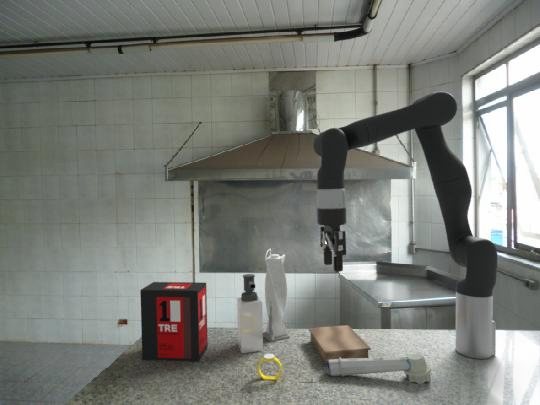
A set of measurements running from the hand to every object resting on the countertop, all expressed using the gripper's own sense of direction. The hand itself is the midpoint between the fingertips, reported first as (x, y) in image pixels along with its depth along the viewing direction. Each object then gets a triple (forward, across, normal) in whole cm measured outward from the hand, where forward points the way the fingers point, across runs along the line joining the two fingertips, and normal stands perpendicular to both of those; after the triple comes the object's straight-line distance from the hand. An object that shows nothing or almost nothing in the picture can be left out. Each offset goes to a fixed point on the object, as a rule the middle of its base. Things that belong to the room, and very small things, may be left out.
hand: (332, 267), depth 96 cm
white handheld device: (+28, -6, -9) cm, 30 cm away
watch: (+27, -3, +18) cm, 32 cm away
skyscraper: (+27, +24, +12) cm, 38 cm away
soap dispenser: (+27, +15, +21) cm, 37 cm away
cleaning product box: (+26, +16, +43) cm, 53 cm away
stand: (+27, +10, -4) cm, 29 cm away
